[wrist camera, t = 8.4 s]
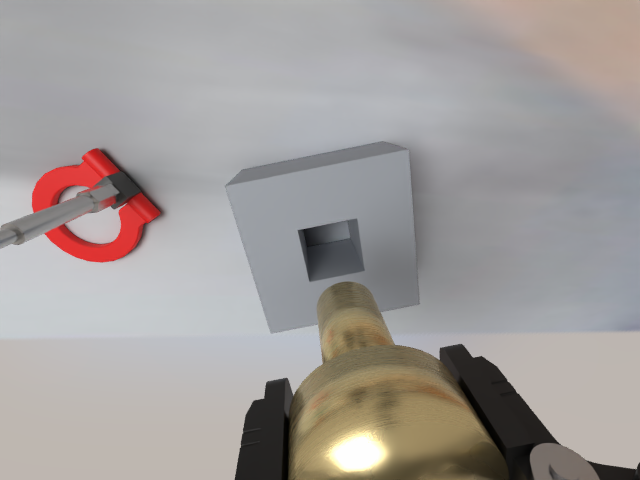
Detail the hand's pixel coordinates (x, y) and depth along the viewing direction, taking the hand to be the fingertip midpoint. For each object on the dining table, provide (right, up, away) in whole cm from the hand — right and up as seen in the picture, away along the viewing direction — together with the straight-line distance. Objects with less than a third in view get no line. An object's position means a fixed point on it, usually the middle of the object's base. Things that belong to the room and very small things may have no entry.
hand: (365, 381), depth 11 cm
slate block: (-1, +7, +17) cm, 18 cm away
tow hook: (-21, +8, +15) cm, 27 cm away
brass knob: (0, +2, +4) cm, 5 cm away
